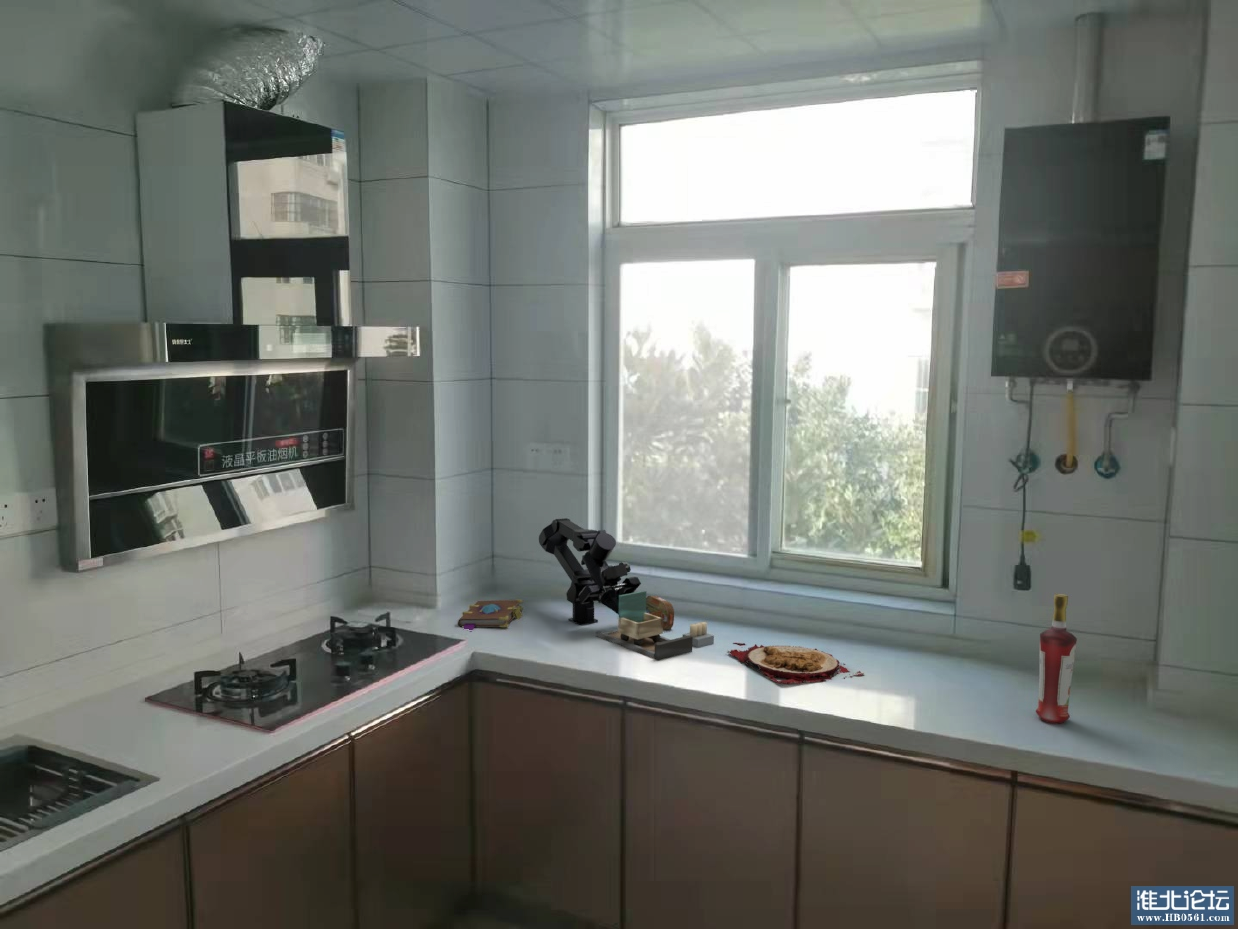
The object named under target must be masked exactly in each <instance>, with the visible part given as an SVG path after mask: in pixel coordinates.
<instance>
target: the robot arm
mask: <svg viewBox="0 0 1238 929" xmlns="http://www.w3.org/2000/svg"><path fill="white" fill-rule="evenodd" d="M568 541H571V542H572V547H574V549H575V550H576V551H577V552H581V553H582V552H585V553H584V555H582V558H581V560H580V561H581V562H580V561H579V560H578V559H577V557H576V556H575V554H574V553H573V551H572V550H571V548H570V547H569V546H568ZM538 543H539V545H540V547H541V548H542V549H543V550H544V551H545V552H546V553H548V554H551V555H553V556H554V557H555V559H556V560H557V562H558V563H559V565H560V566H561V567H562V569H563V570H564V572H565V573H566V575H567V576H568V578H569V579H570V581H571V582H570V587H568V590H567V591H566V593H565V595H566V601H568V602H569V603H571V604H572V617H569V618H568V621H569V622H572V623H575V624H577V625H580V626H583V625H587V624H592V623H597V622H599V619H597V618H595V604H594V603H595V602H597V603H598V604H602V605H603V606H605V607H607V608H608V609H610V610H612V611H613V612H614V613H616V614H617V615H618V616H619V595H624V594H630V593H635V592H636V590H637V589H638V588H639V587H640V585H641V584H642V582H641V581H640V579H639V577H638V576H630V577H627V576H628V573H630V572H631V566H630V564H629V562H628V561H621V562H619V564H617V565H616V564H615V565H612V564H611V565H609V563H608V562H607V559H608V558H609V557H610V555H611V553H612V552H613V551H614V549H615V548H616V545H617V541H616V539H615V537H614V536H613V535H612V534H610V533H607V531H606V530H605V529H599V530H596V529H590V528H589V529H586V528H583V527H582V526H579V525H578V524H576V523H575V522H573V521H571V519H570V518H568V517H567V518H566V517H564V518H555V519H553V520H552V521H551V523H550V524H547V526H545V527H544V528H542V530H541V532H540V534H539V535H538ZM584 565H585V567H586V569H584V567H583V566H584ZM622 577H626V578H624V580H622ZM621 580H622V582H621V583H620V581H621ZM618 582H619V583H618Z"/></svg>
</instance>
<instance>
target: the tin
mask: <svg viewBox="0 0 1238 929" xmlns="http://www.w3.org/2000/svg"><path fill="white" fill-rule="evenodd" d="M646 613H649V614H652V615H655V616H657V617H660V618H663V631H664V630H671V629H672V628H673V626H674V622H675V609H674V607H673V605H672V603H671V602H670V601H668V600H666V599H663V598H662V597H659V596H657V595H647V596H646Z"/></svg>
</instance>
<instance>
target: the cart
mask: <svg viewBox="0 0 1238 929" xmlns="http://www.w3.org/2000/svg"><path fill="white" fill-rule="evenodd" d="M646 598H647V591H646V590H641V591H634V593H630V594H624V595H619V615H618V622H617V623H618V624H617V625H618V629H617V631H618V632H619V633H621V640H624V641H628V640H629V637H632V638H635V639H634V644H635V645H637V646H642V644H643V641H642V638H646V637H650V636H652V640H653V641H654V642H659V641H660V636H661V635H662V634H664V630H663V618H660V617H657V616H655V615H652V614H649V613H646Z"/></svg>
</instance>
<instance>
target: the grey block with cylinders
mask: <svg viewBox="0 0 1238 929" xmlns="http://www.w3.org/2000/svg"><path fill="white" fill-rule="evenodd" d="M707 628H708V623H707V622H706V621H701V622H696V623H693V624H689V632H685V633H682V637H684V636H688V635H689V636H692V637H693V642H692V647H695V648H702V647H707V646H710V645H714V643H715V641H714V640H715V639H714V638H715V635H713V634H710V633H709V632H708V631H707V630H708V629H707Z"/></svg>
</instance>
